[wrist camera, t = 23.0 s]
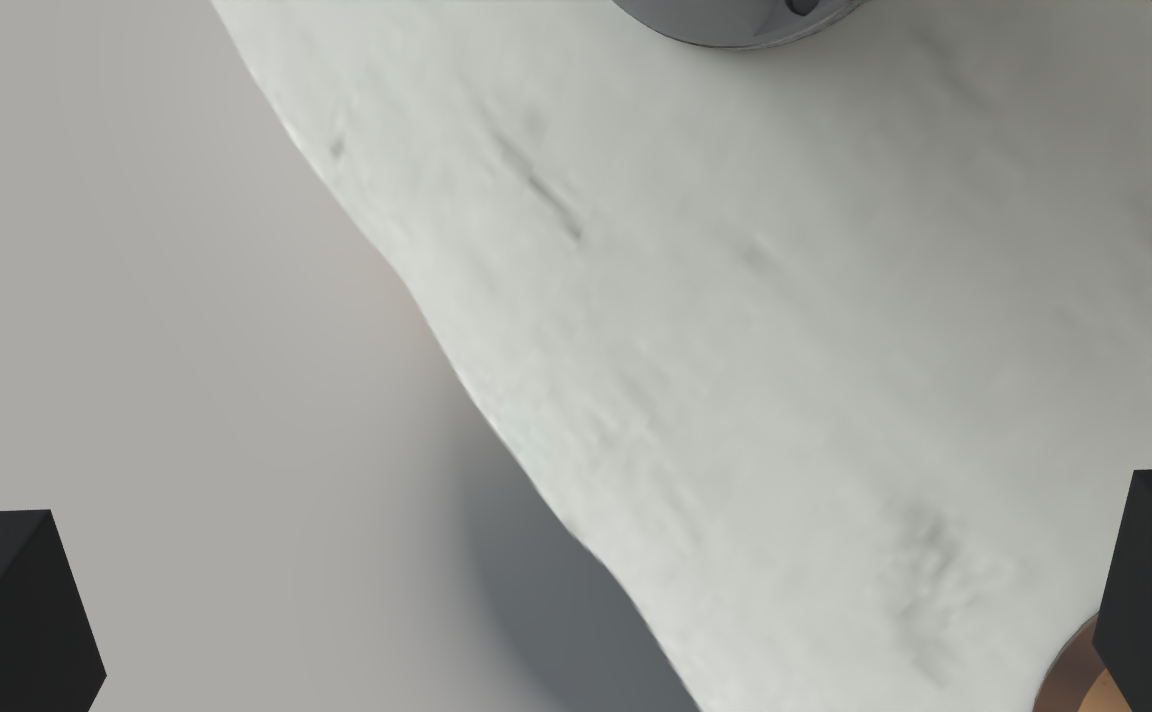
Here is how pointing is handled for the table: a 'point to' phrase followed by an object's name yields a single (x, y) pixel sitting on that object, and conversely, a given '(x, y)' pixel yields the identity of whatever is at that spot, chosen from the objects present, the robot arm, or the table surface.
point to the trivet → (1079, 679)
